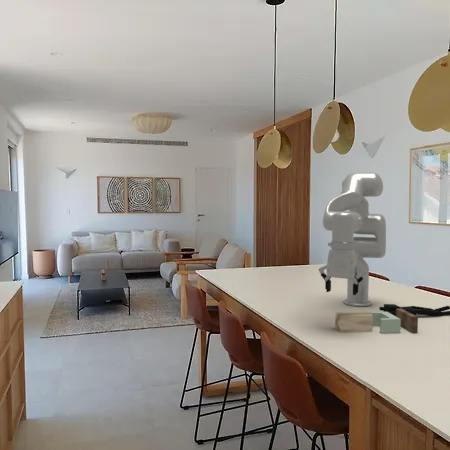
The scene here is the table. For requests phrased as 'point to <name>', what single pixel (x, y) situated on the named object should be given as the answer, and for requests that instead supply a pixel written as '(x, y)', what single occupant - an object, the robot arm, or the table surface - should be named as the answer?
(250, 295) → the table surface
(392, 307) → the toy
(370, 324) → the beige wooden brick
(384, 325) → the block
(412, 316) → the board
